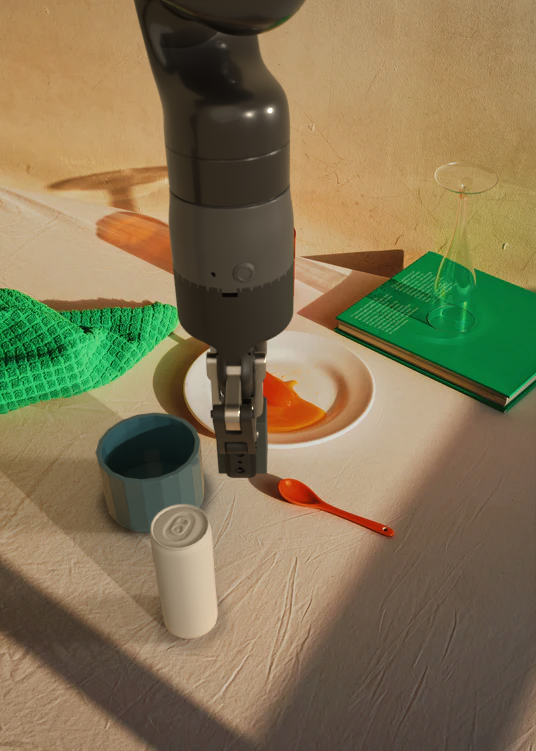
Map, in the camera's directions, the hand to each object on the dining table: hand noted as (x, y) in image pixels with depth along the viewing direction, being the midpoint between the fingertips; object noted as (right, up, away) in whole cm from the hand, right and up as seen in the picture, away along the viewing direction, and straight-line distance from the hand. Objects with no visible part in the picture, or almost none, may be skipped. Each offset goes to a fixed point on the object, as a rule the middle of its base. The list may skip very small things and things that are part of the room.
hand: (242, 457), depth 56 cm
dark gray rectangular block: (0, 0, 0) cm, 0 cm away
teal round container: (-10, -6, +20) cm, 23 cm away
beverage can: (-5, -15, +9) cm, 18 cm away
